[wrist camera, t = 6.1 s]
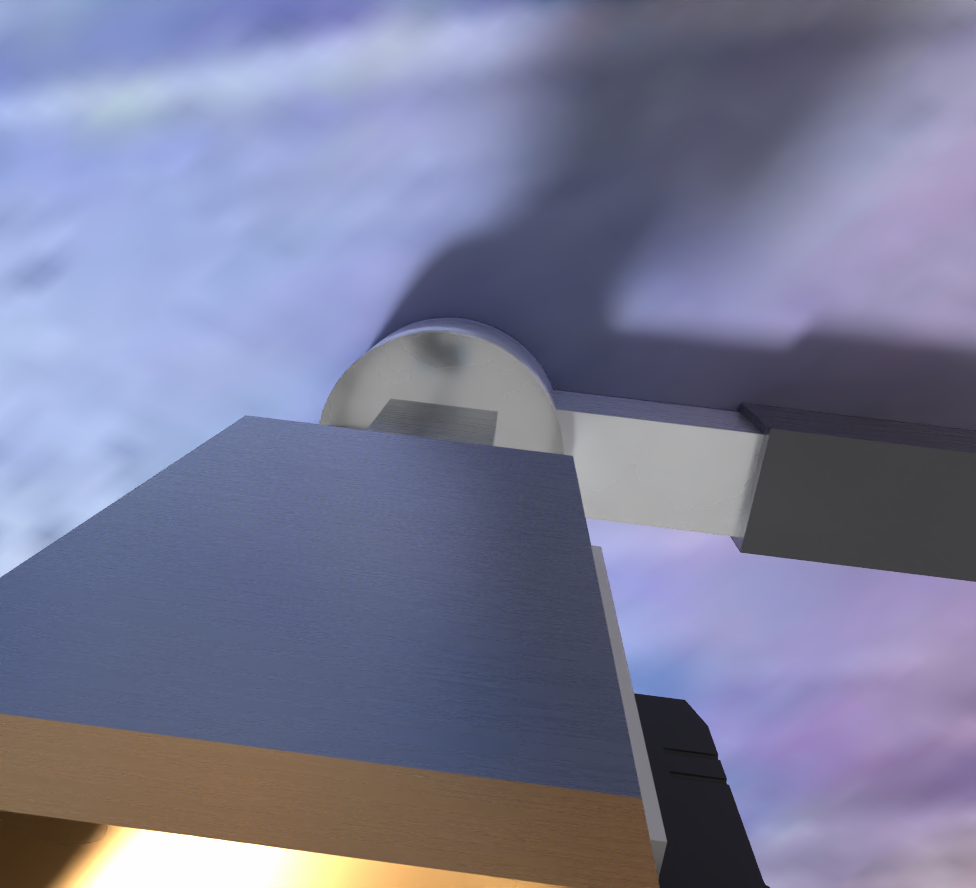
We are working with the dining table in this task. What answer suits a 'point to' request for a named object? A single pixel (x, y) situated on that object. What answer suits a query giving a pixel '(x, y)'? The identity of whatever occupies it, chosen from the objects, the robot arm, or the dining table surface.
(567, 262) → the dining table surface
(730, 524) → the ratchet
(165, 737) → the grey orange-topped block
